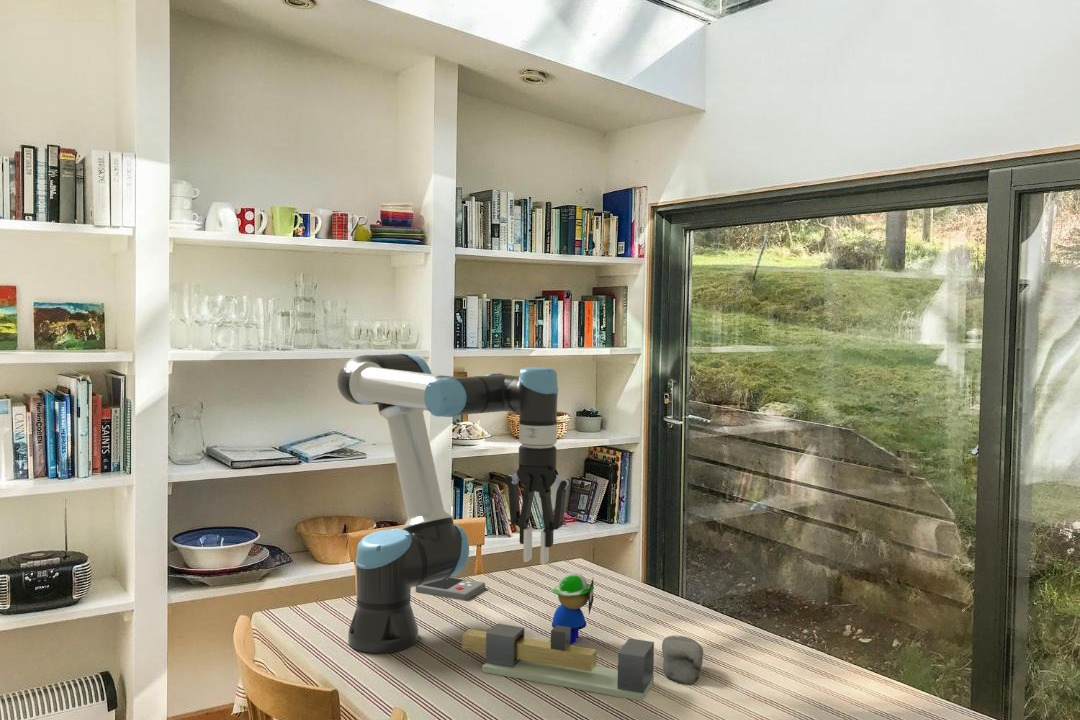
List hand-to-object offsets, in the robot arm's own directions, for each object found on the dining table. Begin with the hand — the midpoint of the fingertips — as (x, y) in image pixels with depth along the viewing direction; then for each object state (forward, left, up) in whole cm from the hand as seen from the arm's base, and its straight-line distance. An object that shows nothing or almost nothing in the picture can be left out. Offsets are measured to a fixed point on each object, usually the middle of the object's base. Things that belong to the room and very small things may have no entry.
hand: (536, 561), depth 171 cm
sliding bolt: (-1, 0, -20) cm, 20 cm away
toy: (+2, +19, -23) cm, 30 cm away
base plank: (+7, 0, -23) cm, 24 cm away
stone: (+28, +11, -23) cm, 38 cm away
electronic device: (-39, +38, -23) cm, 59 cm away
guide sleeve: (-6, 0, -21) cm, 22 cm away
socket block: (+21, 0, -21) cm, 30 cm away
